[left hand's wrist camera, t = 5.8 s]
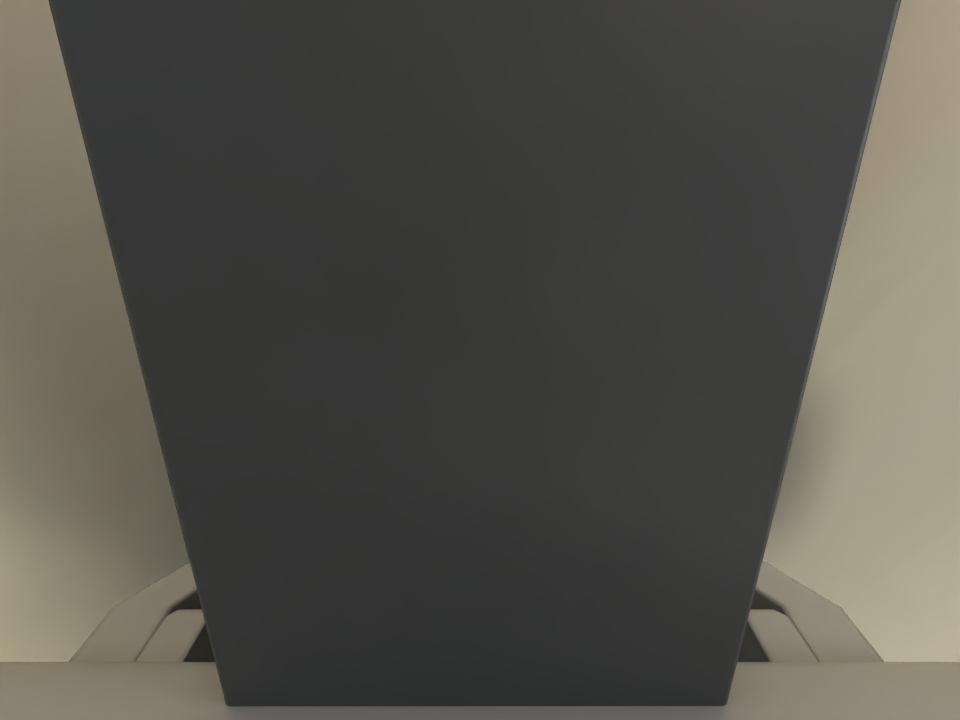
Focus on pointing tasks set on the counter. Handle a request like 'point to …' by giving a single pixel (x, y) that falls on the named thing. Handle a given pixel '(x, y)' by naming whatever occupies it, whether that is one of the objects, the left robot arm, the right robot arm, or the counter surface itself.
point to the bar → (475, 322)
